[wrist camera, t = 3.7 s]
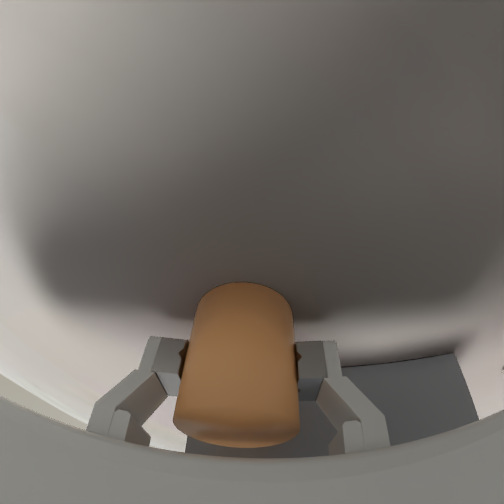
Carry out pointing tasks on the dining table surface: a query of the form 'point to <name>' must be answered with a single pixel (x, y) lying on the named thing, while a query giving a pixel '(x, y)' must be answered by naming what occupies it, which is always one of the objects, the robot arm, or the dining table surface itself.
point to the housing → (386, 400)
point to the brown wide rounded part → (240, 370)
